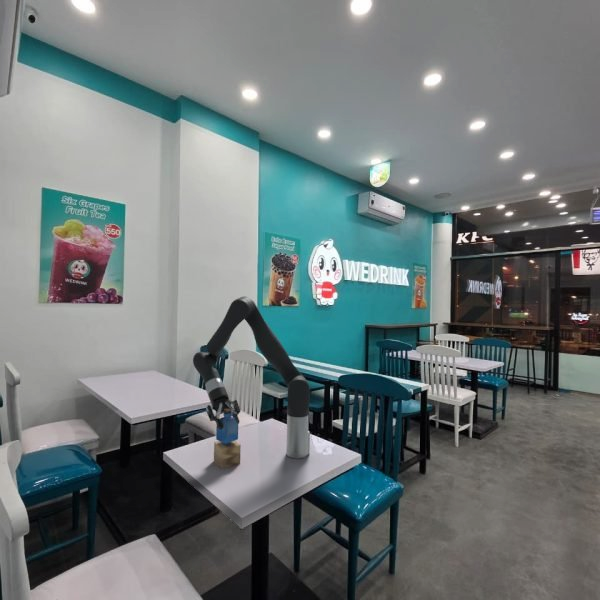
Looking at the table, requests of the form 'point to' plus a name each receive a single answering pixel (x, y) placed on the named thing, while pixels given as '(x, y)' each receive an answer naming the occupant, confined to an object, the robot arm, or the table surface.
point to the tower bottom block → (226, 461)
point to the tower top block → (227, 449)
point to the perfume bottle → (227, 428)
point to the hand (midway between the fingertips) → (229, 426)
